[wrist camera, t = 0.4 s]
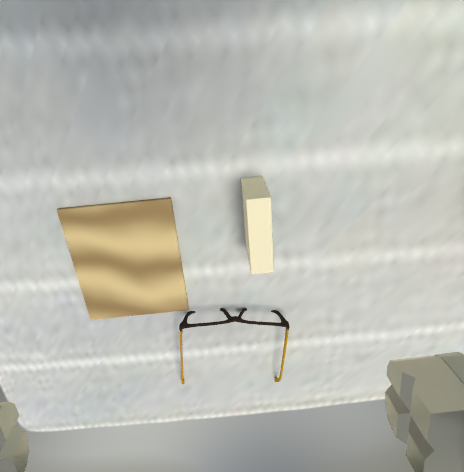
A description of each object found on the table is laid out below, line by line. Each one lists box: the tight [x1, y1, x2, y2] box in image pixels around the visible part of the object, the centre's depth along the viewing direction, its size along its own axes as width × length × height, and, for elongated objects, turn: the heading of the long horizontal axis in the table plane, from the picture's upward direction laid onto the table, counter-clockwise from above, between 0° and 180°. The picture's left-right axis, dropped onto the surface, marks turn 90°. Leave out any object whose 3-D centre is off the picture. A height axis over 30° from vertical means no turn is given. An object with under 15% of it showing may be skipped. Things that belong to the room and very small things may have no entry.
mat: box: [57, 198, 189, 320], centre depth 50 cm, size 16×13×1 cm
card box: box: [241, 176, 274, 274], centre depth 46 cm, size 9×3×6 cm, turn 5°
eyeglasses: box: [179, 308, 289, 384], centre depth 57 cm, size 14×14×4 cm
